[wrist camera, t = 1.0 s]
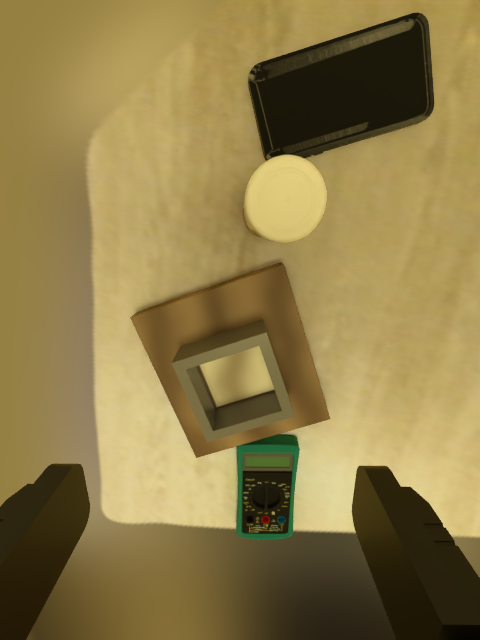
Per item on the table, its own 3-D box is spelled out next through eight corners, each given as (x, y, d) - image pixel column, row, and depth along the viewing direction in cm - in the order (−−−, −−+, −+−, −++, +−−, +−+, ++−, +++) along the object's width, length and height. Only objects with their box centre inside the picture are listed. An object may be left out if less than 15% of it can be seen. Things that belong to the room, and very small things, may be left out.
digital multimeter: (236, 522, 41) (236, 544, 38) (236, 431, 37) (236, 448, 34) (289, 523, 41) (293, 544, 38) (296, 431, 37) (301, 448, 34)
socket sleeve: (263, 319, 30) (266, 332, 26) (288, 394, 32) (295, 416, 29) (179, 346, 31) (171, 363, 27) (210, 417, 33) (207, 442, 30)
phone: (245, 67, 25) (427, 8, 24) (245, 73, 26) (419, 17, 25) (267, 168, 27) (435, 118, 26) (266, 170, 28) (427, 122, 27)
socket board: (280, 262, 30) (284, 264, 28) (325, 408, 35) (330, 420, 33) (136, 312, 32) (129, 318, 30) (198, 445, 37) (196, 458, 35)
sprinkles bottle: (276, 244, 30) (304, 256, 17) (234, 225, 29) (230, 222, 16) (297, 199, 29) (344, 176, 16) (254, 178, 28) (266, 136, 15)
